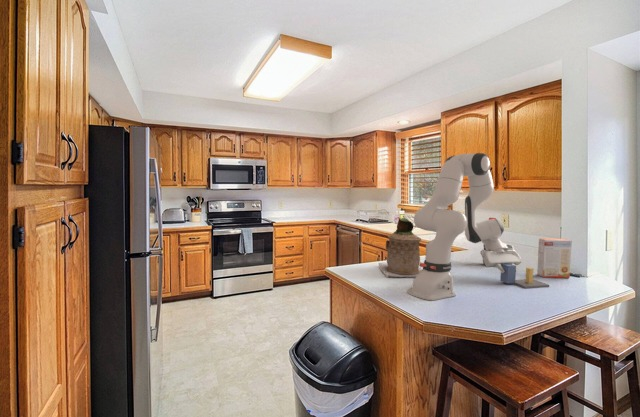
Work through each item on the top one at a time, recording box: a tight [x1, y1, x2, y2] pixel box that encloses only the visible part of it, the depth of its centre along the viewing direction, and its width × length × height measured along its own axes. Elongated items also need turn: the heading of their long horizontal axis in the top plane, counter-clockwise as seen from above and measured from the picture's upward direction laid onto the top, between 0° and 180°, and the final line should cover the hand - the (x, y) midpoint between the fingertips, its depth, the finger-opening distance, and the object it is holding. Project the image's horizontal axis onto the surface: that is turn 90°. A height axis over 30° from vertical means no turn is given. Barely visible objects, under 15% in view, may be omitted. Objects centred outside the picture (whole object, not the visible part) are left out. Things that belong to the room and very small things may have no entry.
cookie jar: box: [378, 216, 423, 279], centre depth 180 cm, size 25×25×32 cm
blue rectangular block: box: [499, 264, 517, 285], centre depth 161 cm, size 5×5×9 cm
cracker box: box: [536, 238, 573, 279], centre depth 174 cm, size 14×6×21 cm, turn 84°
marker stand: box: [512, 267, 550, 289], centre depth 160 cm, size 14×10×8 cm
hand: (509, 272), depth 160 cm, fingers closed on blue rectangular block, 5 cm apart
